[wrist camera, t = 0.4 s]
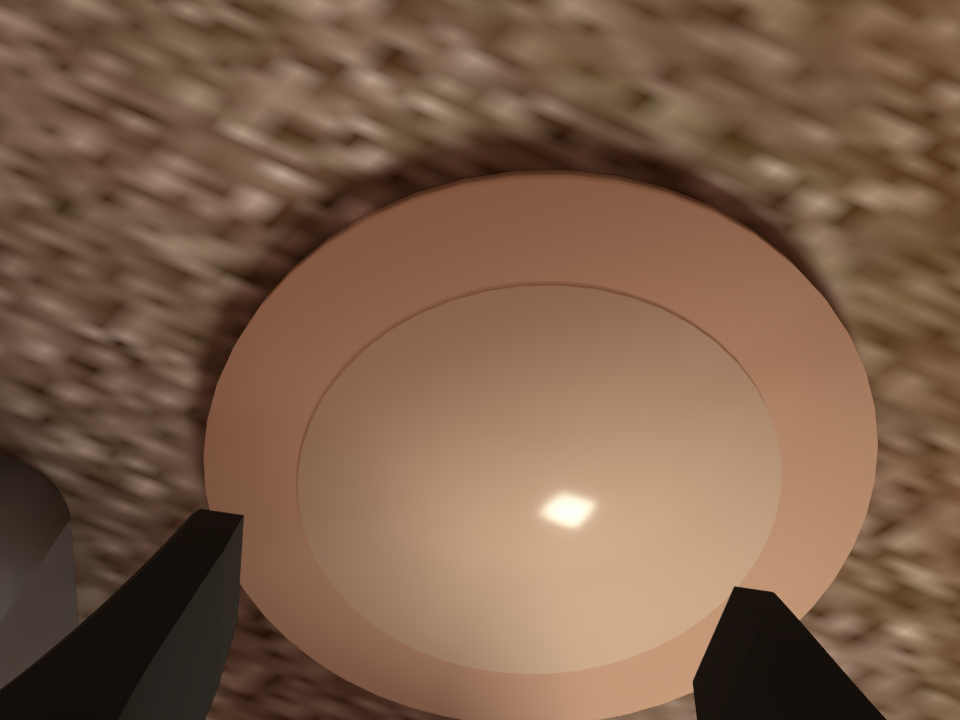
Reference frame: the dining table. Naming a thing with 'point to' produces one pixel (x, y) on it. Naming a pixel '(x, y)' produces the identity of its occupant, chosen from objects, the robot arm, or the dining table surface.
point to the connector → (33, 568)
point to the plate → (537, 444)
